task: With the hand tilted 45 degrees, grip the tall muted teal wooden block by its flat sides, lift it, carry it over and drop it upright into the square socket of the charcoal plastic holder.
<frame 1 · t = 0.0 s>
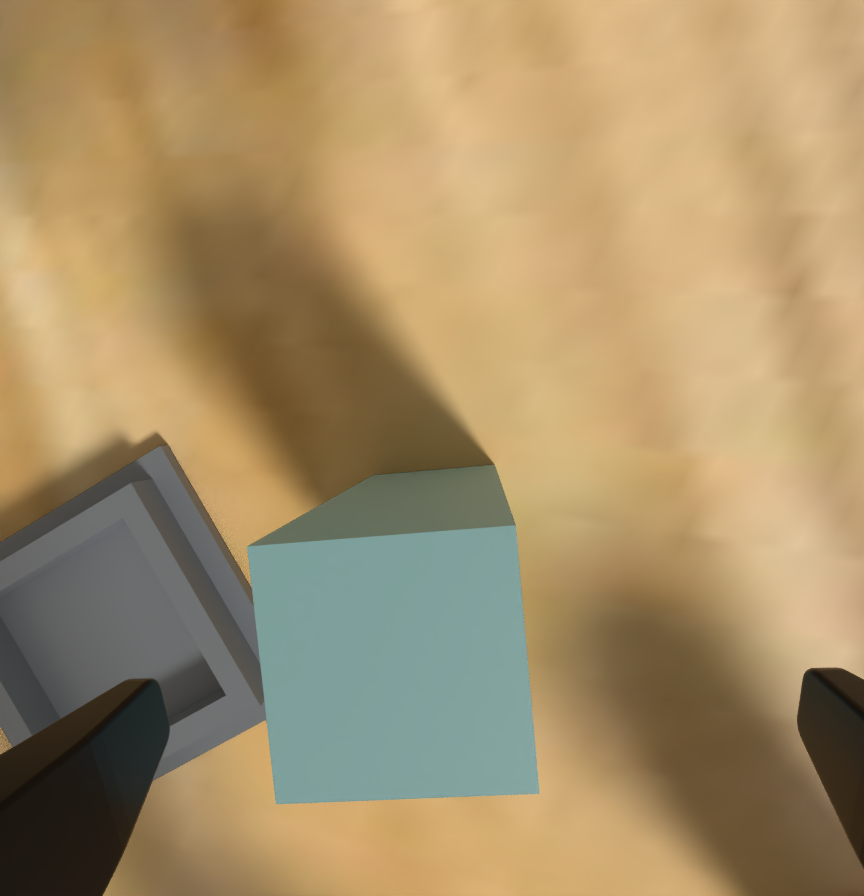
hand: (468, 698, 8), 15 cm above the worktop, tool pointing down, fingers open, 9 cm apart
socket holder: (123, 634, 25), on the worktop
teal block: (438, 530, 24), on the worktop
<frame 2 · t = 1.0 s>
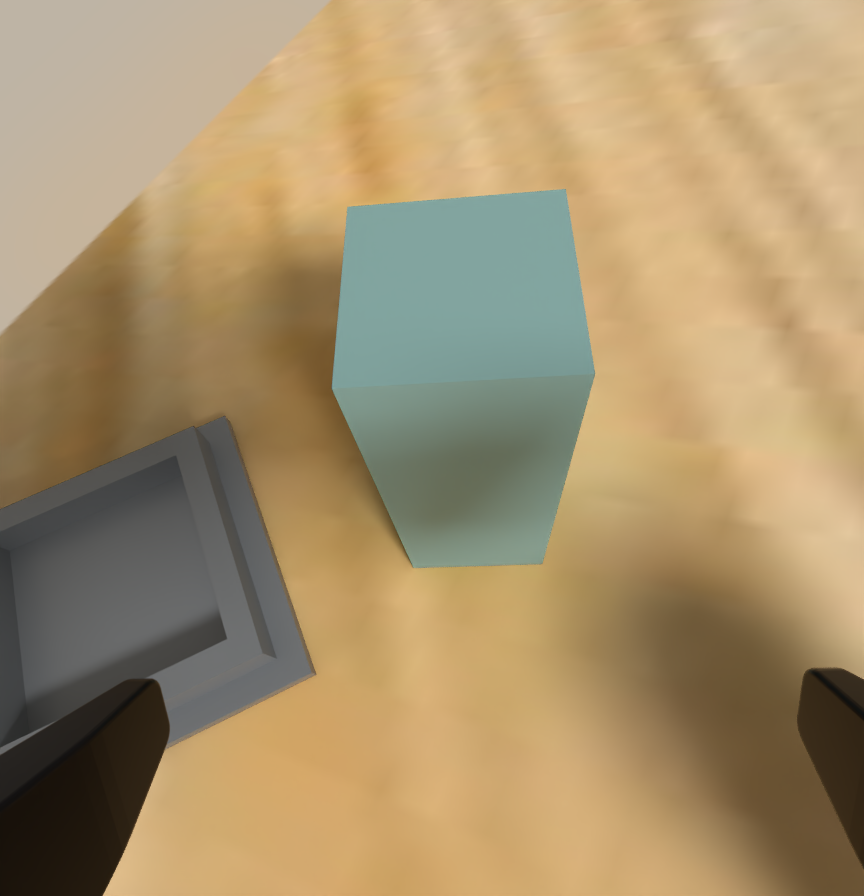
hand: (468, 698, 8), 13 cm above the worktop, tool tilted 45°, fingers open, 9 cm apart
socket holder: (128, 598, 23), on the worktop
teal block: (474, 505, 24), on the worktop
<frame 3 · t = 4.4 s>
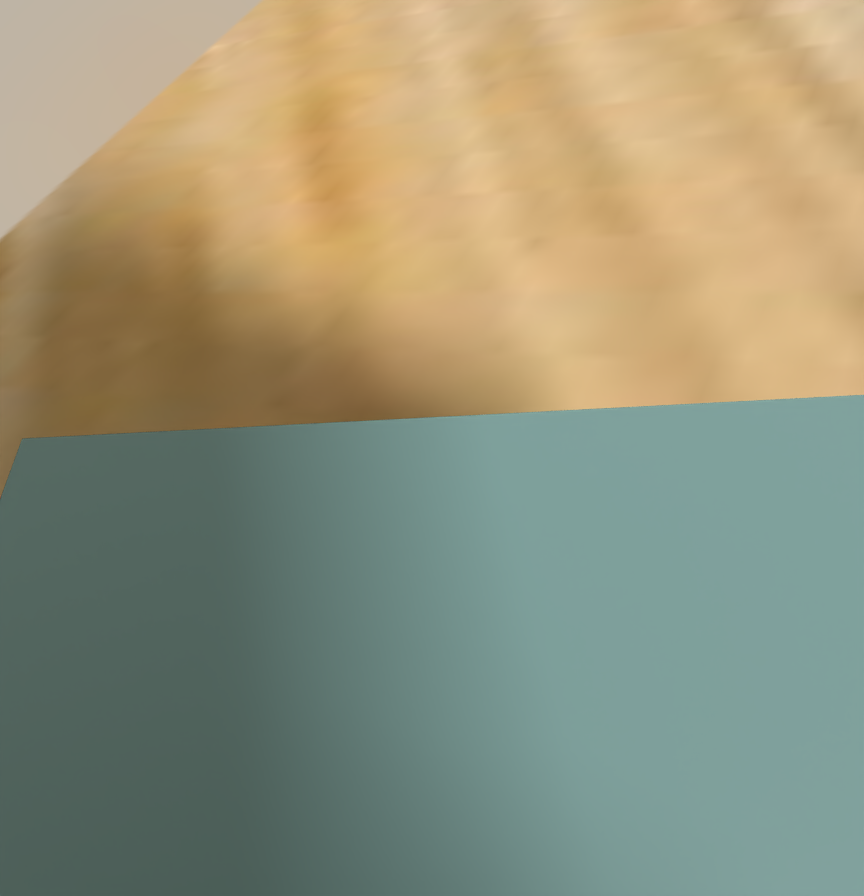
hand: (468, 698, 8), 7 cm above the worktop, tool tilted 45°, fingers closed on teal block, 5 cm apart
teal block: (481, 785, 14), on the worktop, touching gripper
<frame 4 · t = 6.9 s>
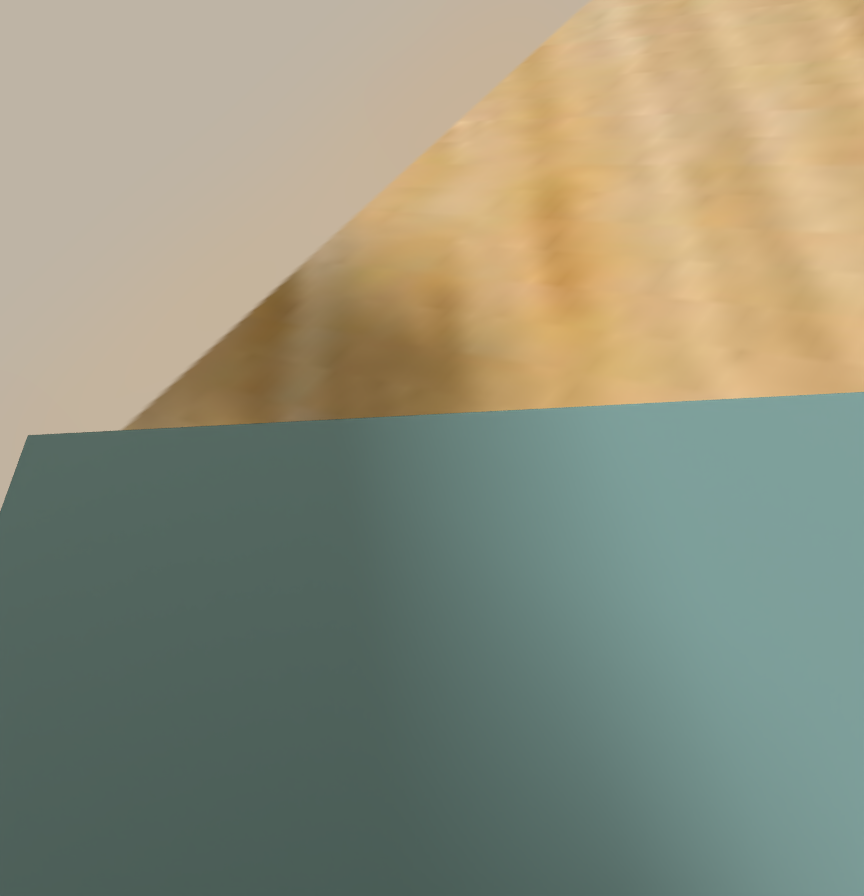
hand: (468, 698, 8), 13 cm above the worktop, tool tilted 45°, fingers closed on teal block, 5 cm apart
teal block: (482, 784, 14), point 6 cm above the worktop, touching gripper
when the fingers open (9 cm above the worktop, at t = 9.6 s): teal block drops 2 cm, resting on socket holder.
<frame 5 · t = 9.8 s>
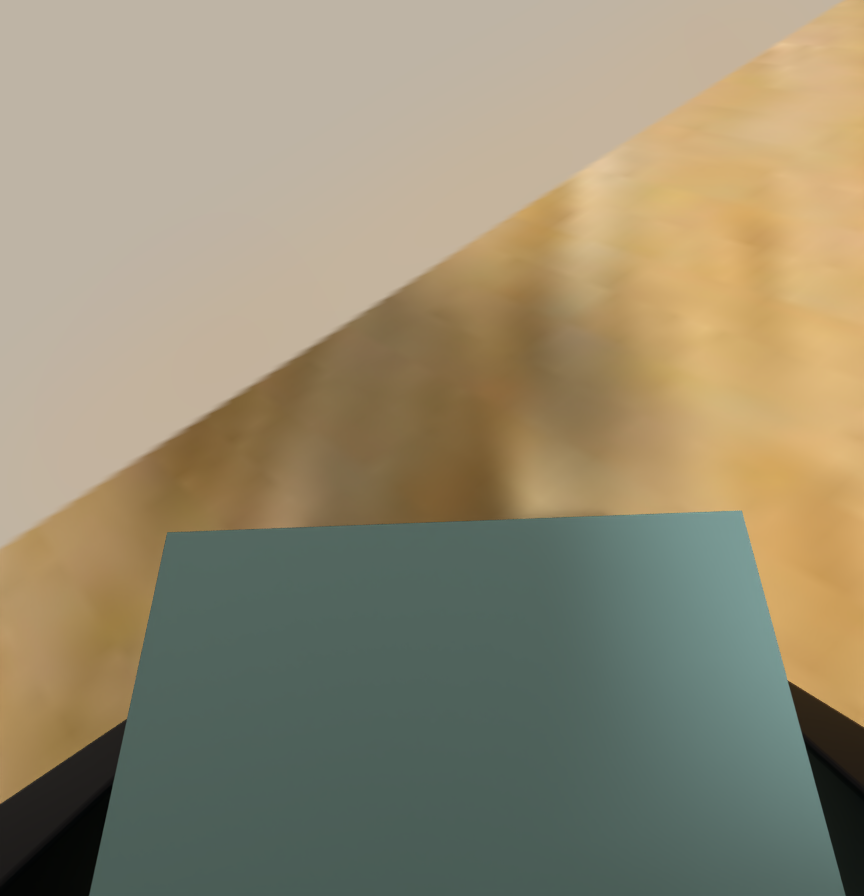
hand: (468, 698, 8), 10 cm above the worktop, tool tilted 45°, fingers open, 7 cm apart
teal block: (481, 779, 15), point 1 cm above the worktop, touching socket holder
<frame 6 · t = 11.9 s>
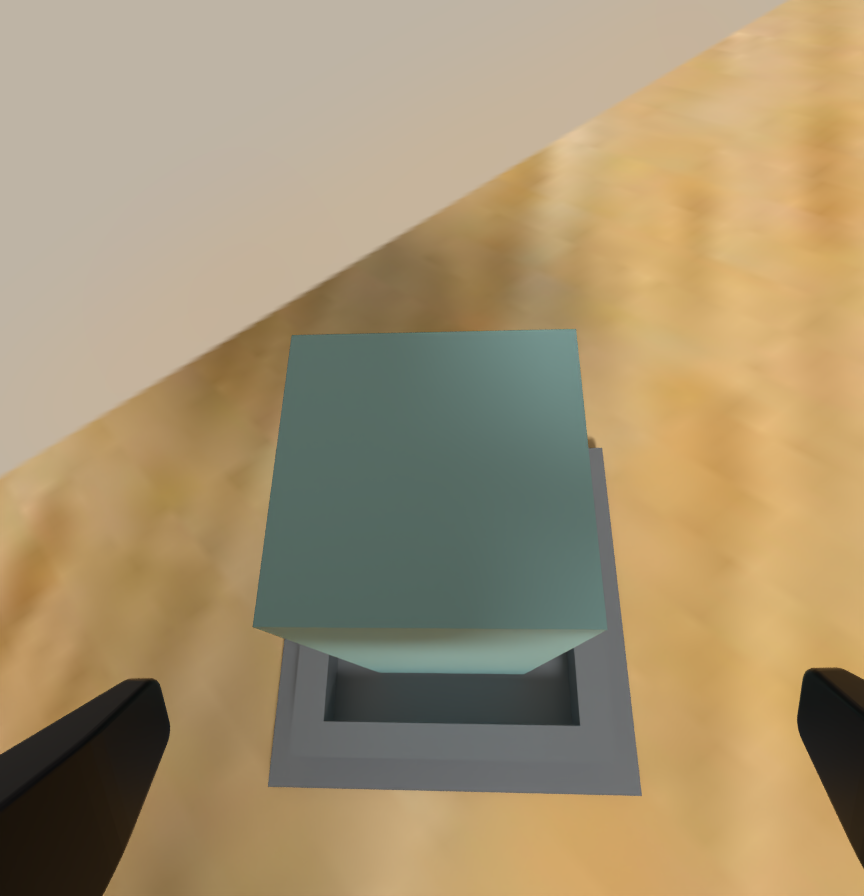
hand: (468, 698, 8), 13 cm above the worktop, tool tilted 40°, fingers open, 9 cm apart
socket holder: (451, 603, 22), on the worktop
teal block: (451, 599, 21), point 1 cm above the worktop, touching socket holder
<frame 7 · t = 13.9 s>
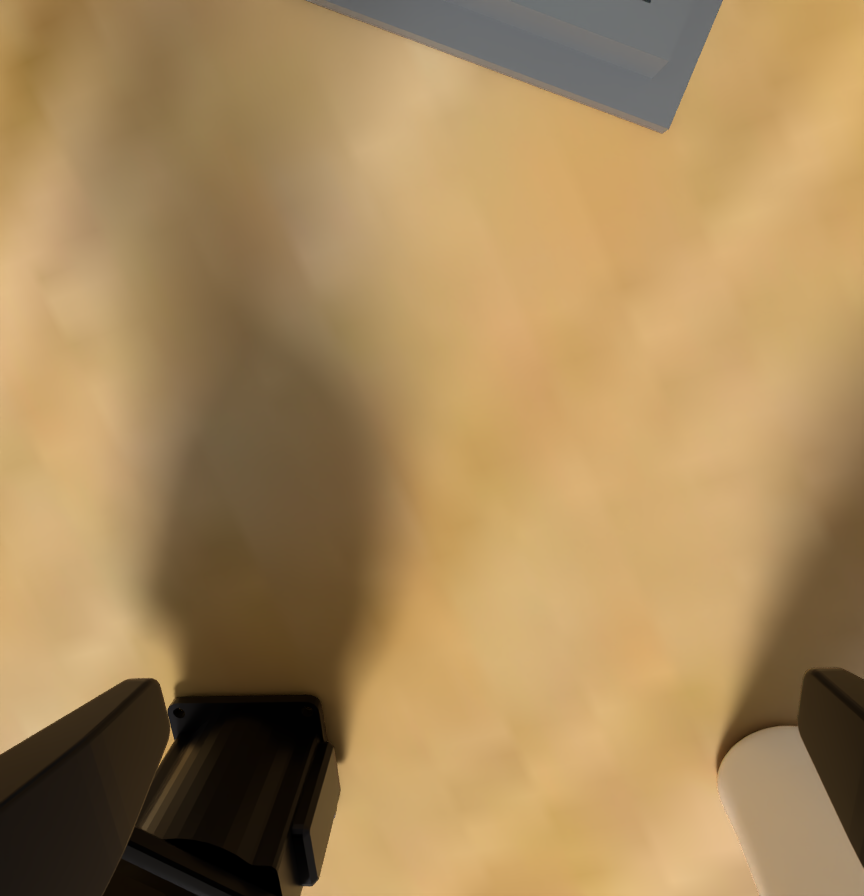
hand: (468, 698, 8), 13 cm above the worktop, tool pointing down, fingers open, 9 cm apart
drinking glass: (775, 765, 24), on the worktop
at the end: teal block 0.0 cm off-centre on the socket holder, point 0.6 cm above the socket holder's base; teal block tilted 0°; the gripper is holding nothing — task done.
